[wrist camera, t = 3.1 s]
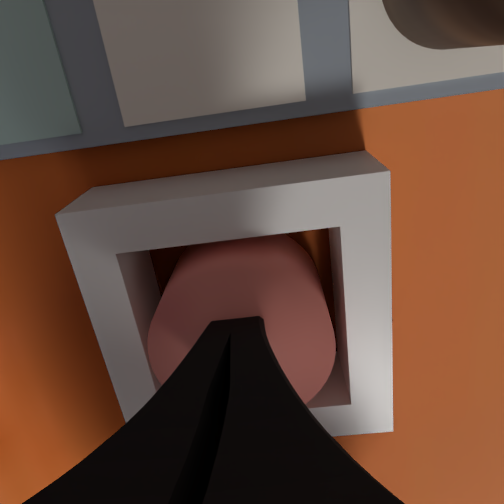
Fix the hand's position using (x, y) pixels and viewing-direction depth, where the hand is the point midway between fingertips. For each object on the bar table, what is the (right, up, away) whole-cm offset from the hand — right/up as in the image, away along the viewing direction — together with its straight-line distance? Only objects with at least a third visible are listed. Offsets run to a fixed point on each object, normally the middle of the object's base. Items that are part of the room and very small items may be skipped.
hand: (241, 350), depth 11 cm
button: (0, +1, +3) cm, 3 cm away
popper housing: (0, +1, +3) cm, 3 cm away
